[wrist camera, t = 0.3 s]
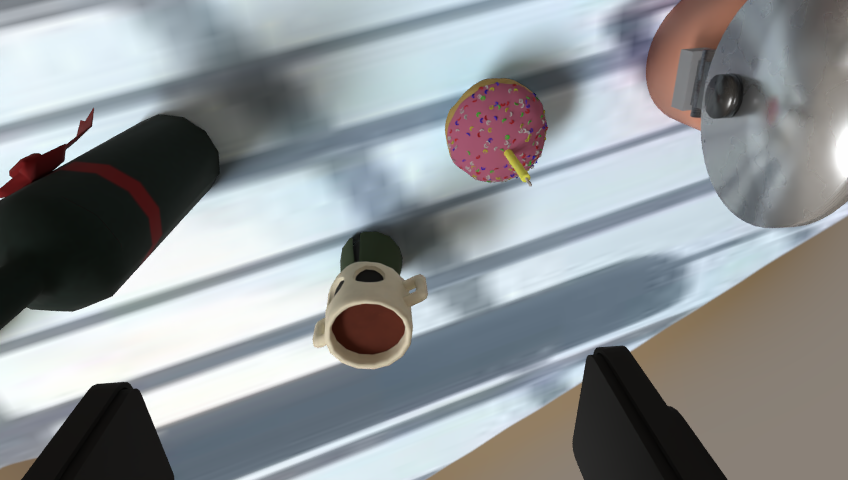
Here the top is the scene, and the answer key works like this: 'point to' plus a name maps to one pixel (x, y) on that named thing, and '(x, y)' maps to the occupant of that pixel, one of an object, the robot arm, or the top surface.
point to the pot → (685, 53)
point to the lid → (777, 111)
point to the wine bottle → (97, 212)
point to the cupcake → (496, 131)
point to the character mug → (370, 305)
